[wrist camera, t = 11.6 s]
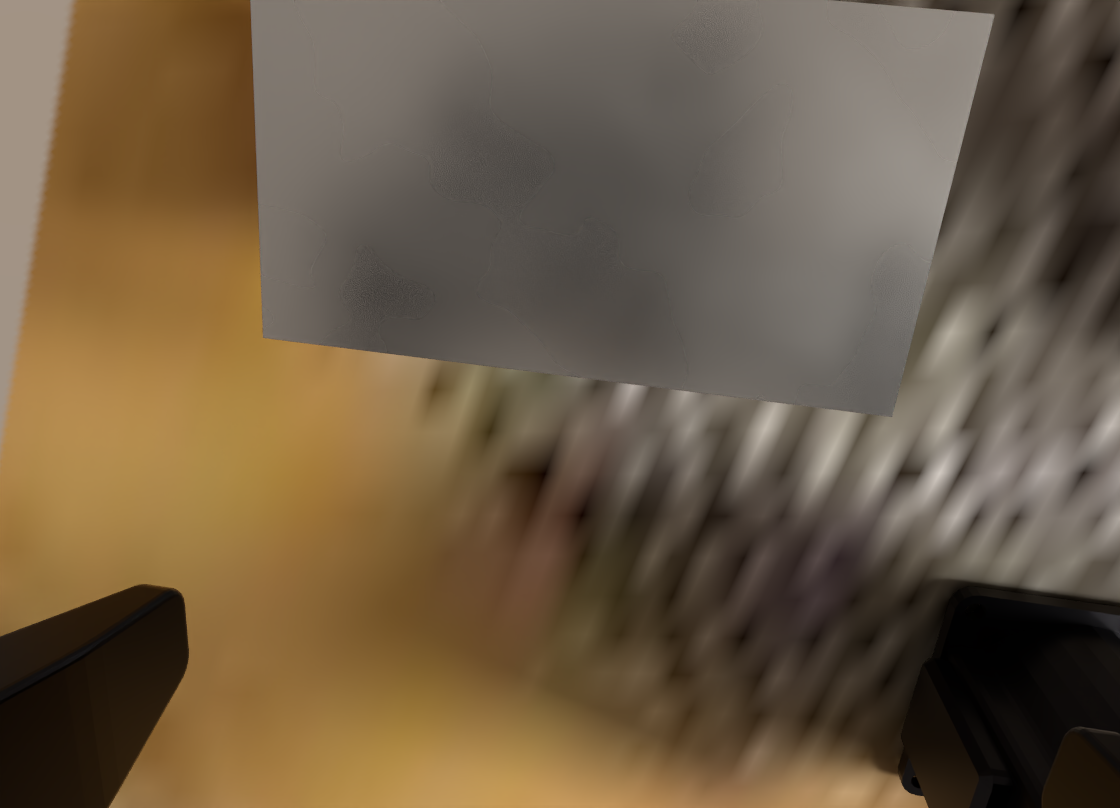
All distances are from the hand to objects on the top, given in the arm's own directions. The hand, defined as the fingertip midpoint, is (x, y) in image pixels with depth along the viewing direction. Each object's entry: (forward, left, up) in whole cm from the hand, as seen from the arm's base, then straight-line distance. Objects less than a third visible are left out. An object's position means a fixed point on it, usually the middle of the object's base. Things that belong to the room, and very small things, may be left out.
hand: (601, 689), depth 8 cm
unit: (+1, -4, -12) cm, 13 cm away
